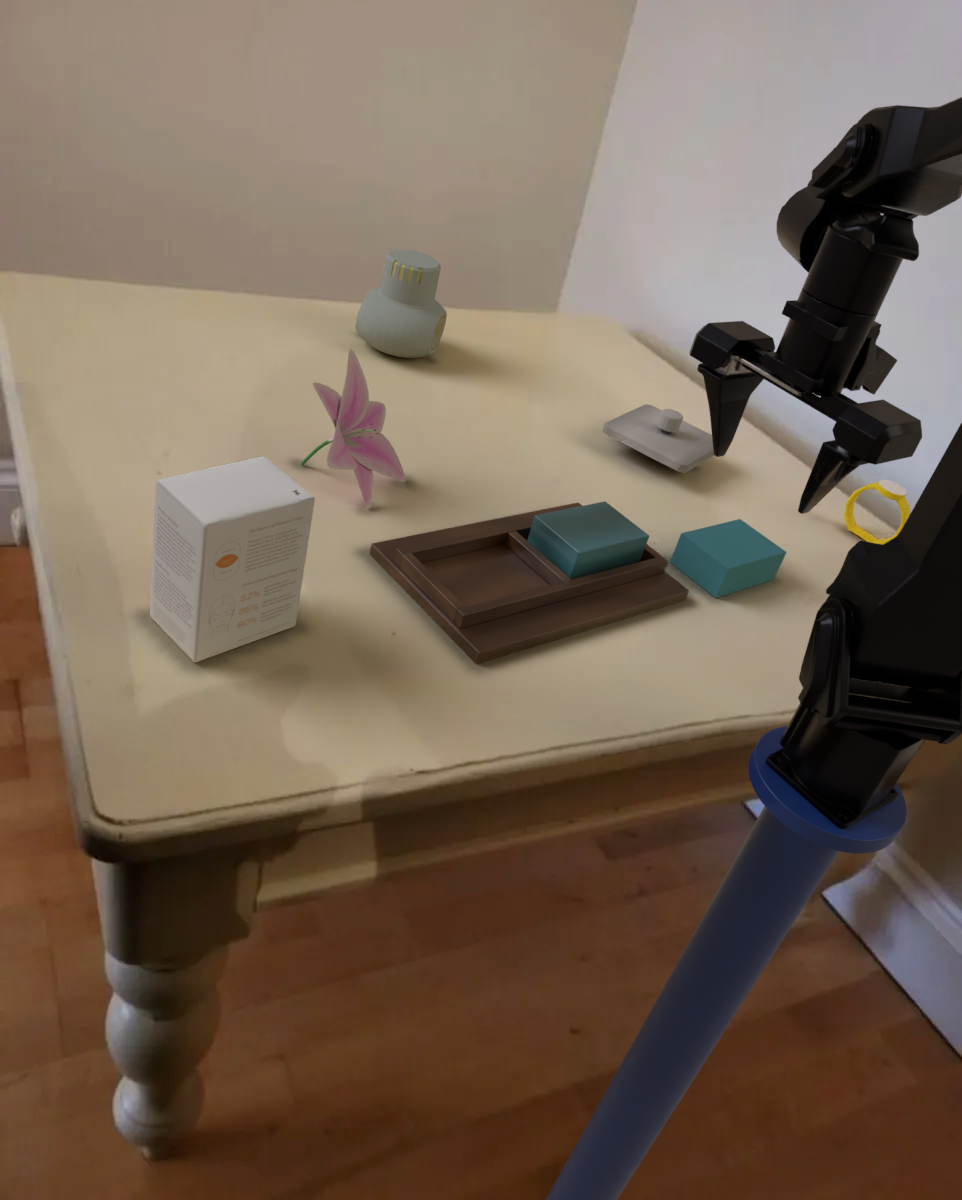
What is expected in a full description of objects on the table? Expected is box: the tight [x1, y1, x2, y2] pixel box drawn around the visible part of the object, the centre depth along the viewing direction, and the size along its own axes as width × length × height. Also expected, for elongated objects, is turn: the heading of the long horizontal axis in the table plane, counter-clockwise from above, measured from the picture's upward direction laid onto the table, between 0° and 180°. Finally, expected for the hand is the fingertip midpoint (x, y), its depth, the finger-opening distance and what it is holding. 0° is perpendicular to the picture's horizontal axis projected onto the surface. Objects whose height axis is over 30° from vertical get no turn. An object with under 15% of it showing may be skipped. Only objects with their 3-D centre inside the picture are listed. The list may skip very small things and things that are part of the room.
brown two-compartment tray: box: [369, 501, 690, 664], centre depth 80 cm, size 14×22×4 cm, turn 127°
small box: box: [149, 455, 316, 663], centre depth 65 cm, size 8×6×10 cm
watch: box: [843, 479, 911, 545], centre depth 99 cm, size 6×3×6 cm, turn 46°
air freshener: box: [355, 248, 448, 359], centre depth 110 cm, size 11×8×10 cm
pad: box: [669, 518, 787, 599], centre depth 88 cm, size 6×8×3 cm
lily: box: [300, 348, 406, 510], centre depth 85 cm, size 12×12×10 cm
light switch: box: [602, 403, 715, 473], centre depth 104 cm, size 10×10×5 cm
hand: (759, 483), depth 84 cm, fingers open, 9 cm apart
